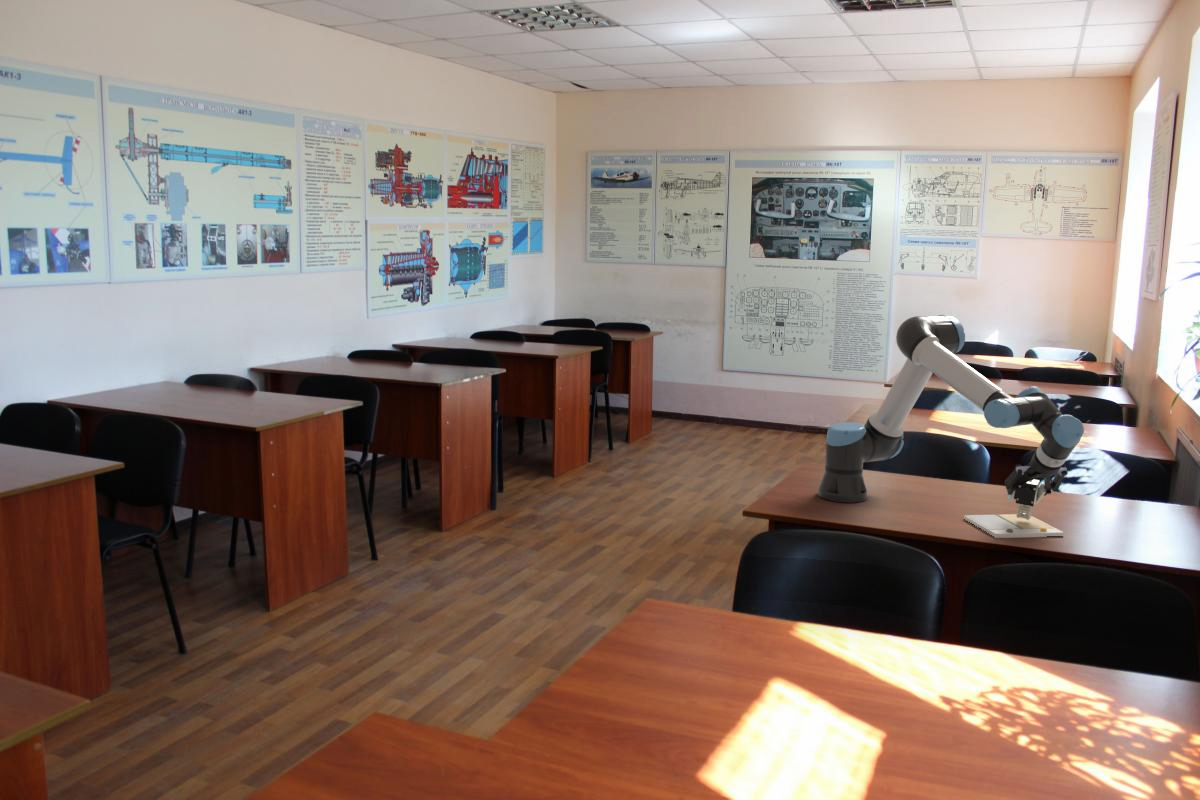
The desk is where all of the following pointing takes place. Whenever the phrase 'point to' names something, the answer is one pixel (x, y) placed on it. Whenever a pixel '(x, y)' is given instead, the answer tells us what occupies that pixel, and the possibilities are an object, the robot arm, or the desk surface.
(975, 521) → the board
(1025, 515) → the pneumatic valve
